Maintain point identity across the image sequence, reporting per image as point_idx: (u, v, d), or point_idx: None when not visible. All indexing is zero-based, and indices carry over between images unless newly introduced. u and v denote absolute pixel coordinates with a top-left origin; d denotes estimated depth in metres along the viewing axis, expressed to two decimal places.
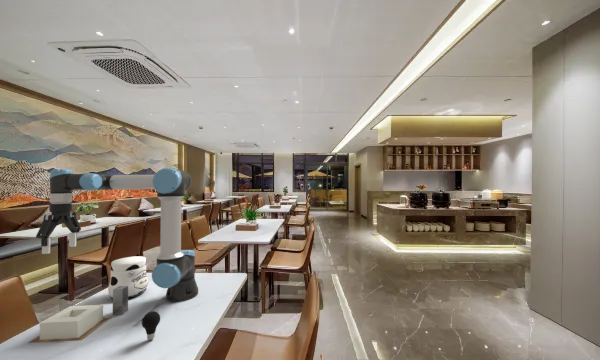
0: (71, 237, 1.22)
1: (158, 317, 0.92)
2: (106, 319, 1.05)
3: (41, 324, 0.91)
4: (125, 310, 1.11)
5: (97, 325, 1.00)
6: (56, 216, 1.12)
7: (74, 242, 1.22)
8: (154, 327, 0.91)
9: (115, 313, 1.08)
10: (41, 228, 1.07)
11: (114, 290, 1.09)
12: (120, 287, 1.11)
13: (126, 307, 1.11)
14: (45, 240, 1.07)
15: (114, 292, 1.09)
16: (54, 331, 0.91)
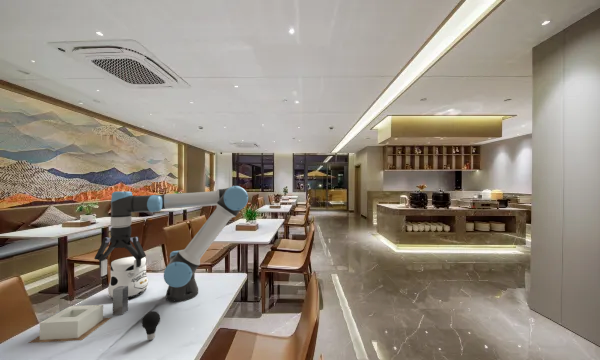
0: None
1: (158, 317, 0.92)
2: (106, 319, 1.05)
3: (41, 324, 0.91)
4: (125, 310, 1.11)
5: (97, 325, 1.00)
6: (111, 240, 1.10)
7: (134, 270, 1.10)
8: (154, 327, 0.91)
9: (115, 313, 1.08)
10: None
11: (114, 290, 1.09)
12: (120, 287, 1.11)
13: (126, 307, 1.11)
14: (100, 262, 1.10)
15: (114, 292, 1.09)
16: (54, 331, 0.91)
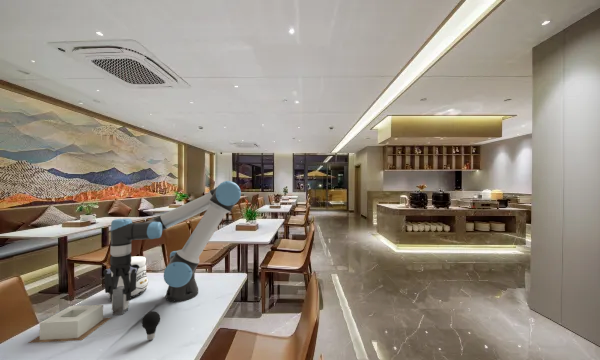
0: None
1: (158, 317, 0.92)
2: (106, 319, 1.05)
3: (41, 324, 0.91)
4: (125, 310, 1.11)
5: (97, 325, 1.00)
6: (111, 268, 1.10)
7: None
8: (154, 327, 0.91)
9: (115, 313, 1.08)
10: None
11: (114, 290, 1.09)
12: (120, 287, 1.11)
13: None
14: (111, 295, 1.10)
15: (114, 292, 1.09)
16: (54, 331, 0.91)
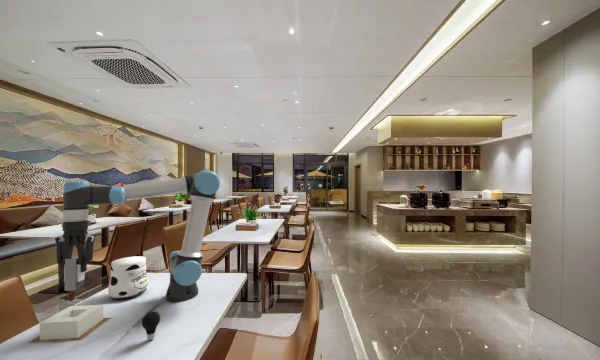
0: None
1: (158, 317, 0.92)
2: (106, 319, 1.05)
3: (41, 324, 0.91)
4: (80, 283, 0.99)
5: (97, 325, 1.00)
6: (64, 236, 0.98)
7: None
8: (154, 327, 0.91)
9: (67, 285, 0.96)
10: None
11: (67, 259, 0.97)
12: (74, 257, 0.99)
13: None
14: (63, 266, 0.98)
15: (67, 262, 0.97)
16: (54, 331, 0.91)
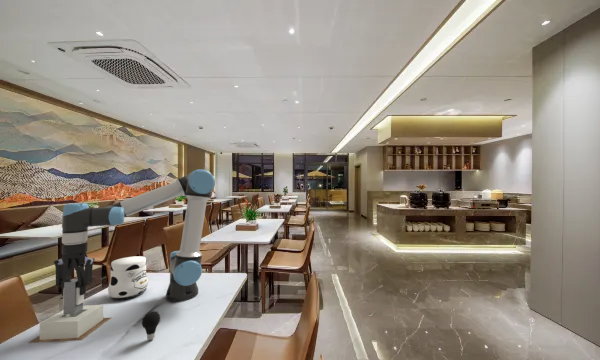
0: None
1: (158, 317, 0.92)
2: (106, 319, 1.05)
3: (41, 324, 0.91)
4: (79, 306, 0.98)
5: (97, 325, 1.00)
6: (63, 259, 0.97)
7: None
8: (154, 327, 0.91)
9: (66, 309, 0.96)
10: None
11: (66, 283, 0.96)
12: (74, 280, 0.99)
13: None
14: (62, 289, 0.97)
15: (66, 285, 0.96)
16: (54, 331, 0.91)
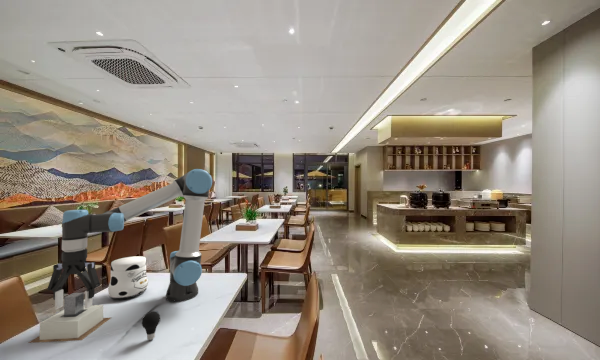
0: None
1: (158, 317, 0.92)
2: (106, 319, 1.05)
3: (41, 324, 0.91)
4: None
5: (97, 325, 1.00)
6: (63, 265, 0.97)
7: None
8: (154, 327, 0.91)
9: None
10: None
11: (66, 298, 0.96)
12: (74, 294, 0.99)
13: None
14: (54, 293, 0.97)
15: (66, 300, 0.96)
16: (54, 331, 0.91)
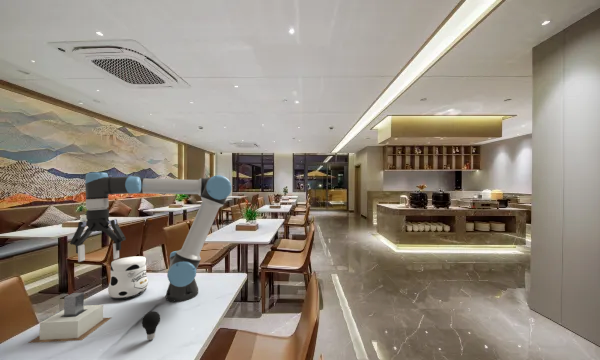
0: None
1: (158, 317, 0.92)
2: (106, 319, 1.05)
3: (41, 324, 0.91)
4: None
5: (97, 325, 1.00)
6: (87, 223, 1.05)
7: None
8: (154, 327, 0.91)
9: None
10: None
11: (66, 298, 0.96)
12: (74, 294, 0.99)
13: None
14: (77, 247, 1.05)
15: (66, 300, 0.96)
16: (54, 331, 0.91)
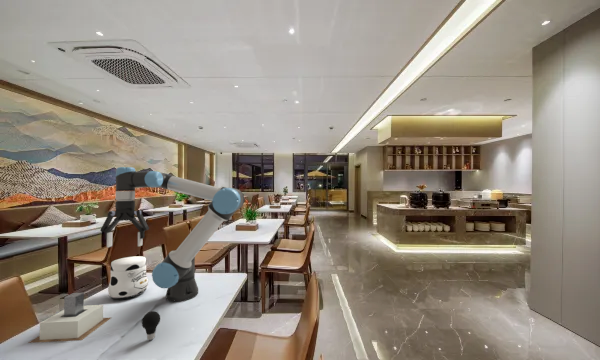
0: None
1: (158, 317, 0.92)
2: (106, 319, 1.05)
3: (41, 324, 0.91)
4: None
5: (97, 325, 1.00)
6: (116, 213, 1.17)
7: (138, 242, 1.17)
8: (154, 327, 0.91)
9: None
10: None
11: (66, 298, 0.96)
12: (74, 294, 0.99)
13: None
14: (106, 234, 1.16)
15: (66, 300, 0.96)
16: (54, 331, 0.91)
